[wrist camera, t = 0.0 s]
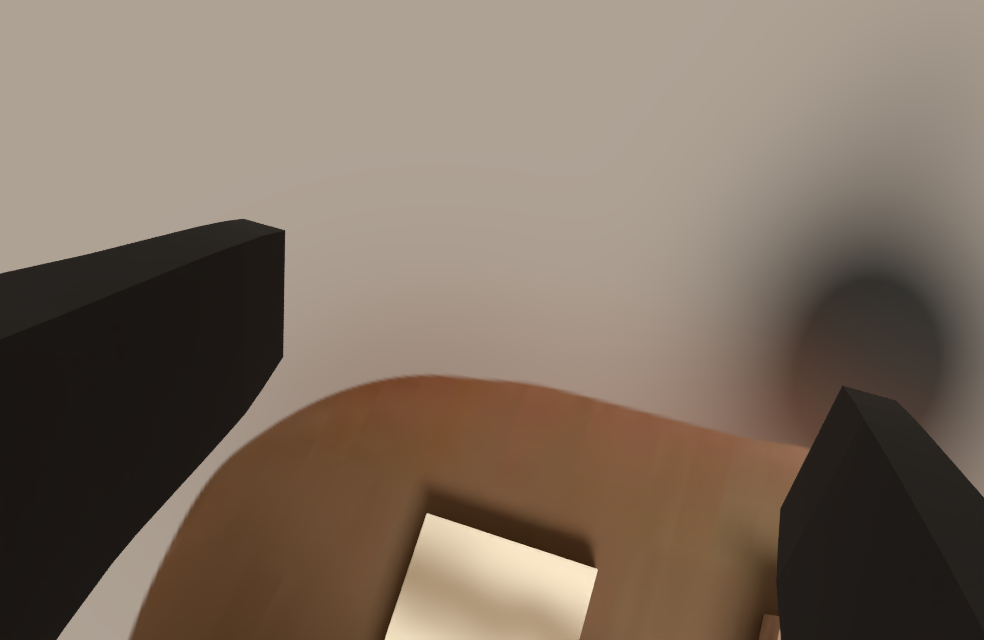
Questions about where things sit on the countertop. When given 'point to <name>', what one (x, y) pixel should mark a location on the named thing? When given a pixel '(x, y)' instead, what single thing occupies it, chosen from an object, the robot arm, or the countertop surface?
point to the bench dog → (770, 628)
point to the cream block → (488, 589)
